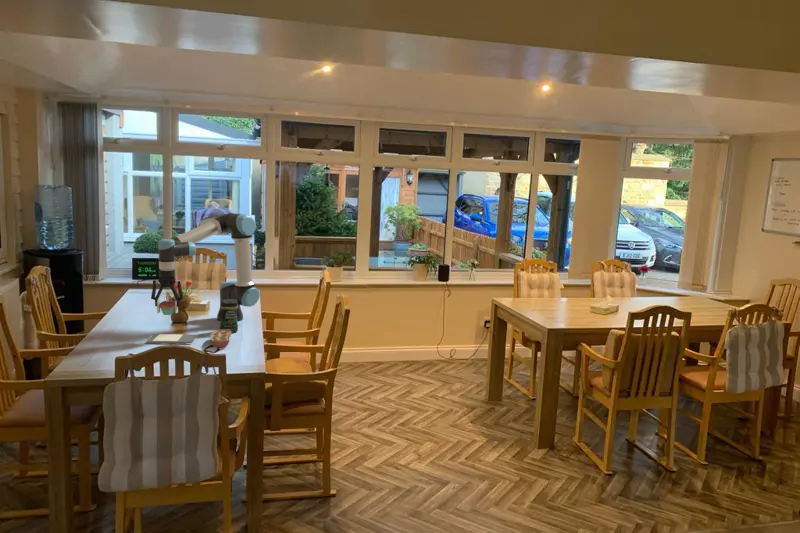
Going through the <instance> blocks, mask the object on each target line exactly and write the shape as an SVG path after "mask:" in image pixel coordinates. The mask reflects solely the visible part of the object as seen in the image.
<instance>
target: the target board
mask: <svg viewBox="0 0 800 533" xmlns="http://www.w3.org/2000/svg"><path fill="white" fill-rule="evenodd" d="M197 337H198V335H197V334H181V333H180V334H179V333H177V334H173V333H172V334H165V333H164V334H163V333H162V334H160V333H159V334H157V333H154V334H153V335H151V336H150V337H149V338H148V339H147V340H146V341H145V344H146V345H162V344H161V343H168V344H167V345H176V344H175V343H184V344H183V345H186V344H185V343H193V342H194V341H195V340H196V339H195V338H197ZM194 339H195V340H194Z"/></svg>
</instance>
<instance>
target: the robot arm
mask: <svg viewBox="0 0 800 533" xmlns="http://www.w3.org/2000/svg"><path fill="white" fill-rule="evenodd" d="M256 226H257V224H256V221H255V219H254V218H253V217H252V216H251V215H248V214H244V213H234V212H227V213H224V214H222V215H220V216H219V215H218V216H216V217H214V218H211V219H210V220H209V222H207V223H204V224H202V225H199V226H198V227H194V228H193V229H190V230H188V231H186V232H185V231H184V232H183V233H181V234H178V235H176V236H174V237H171V238H162V239H160V240H159V241H158V244H157V248H158V269H159V270H158V279H154V280H152V284H153V286H152V290H151V297H150V299H151V300H154V306H155V307H156V309H157V310H156V313H157V314H160V313H161V308H159V304H160V303H161V299H160V296H161V294H162V292H163V291H164V290H163V289H165V288H168V289H170V290H171V291H172V294H173V295H174V297H175V301H174V302H175V309H174V314H178V313H179V307H180V306H181V301H182V300H183V299H184V294H183V288H182V280H181V279H179V280H177V279H176V270H175V269H176V260H175V259H176V258H181V257H190V256H191V257H192V256H194V255H195V254H196V252H197V247H196V243H198V242H201V241H204V240H205V239H208V238H210V237H212V236H215V235H217V236H219V235H222V234H230V235H231V236H230V237H231V239H232V240H233V242H234V253H235V254H234V256H235V270H236V280H230V281H222V282H221V283H220V286H219V305H220V304H221V300H223V299H236V300H237V303H238V309H237V322H239V321H242V320H244V314H243V311H242V308H241V306H243V307H250V308H251V307H253V306H255V305H256V304H257V303H258V302H259V300H260V298H261V297H260V296H261V293H260V290H259V289H258V287H256V282H255V281H254V280H253V276H252V275H253V274H252V258H251V256H252V255H251V240H252V238H253V234H254V233H255V231H256V228H257V227H256ZM158 283H159V284H160V286H159V289H158V292H157V288H158ZM174 284H176V285H177V289H176V288H175V285H174ZM156 292H157V293H156ZM216 320H217V321H219V322H221V308H220V307H219V309H218V312H217V314H216Z"/></svg>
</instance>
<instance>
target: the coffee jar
mask: <svg viewBox="0 0 800 533" xmlns="http://www.w3.org/2000/svg"><path fill="white" fill-rule="evenodd" d="M220 308H221V321H220V324H219V330H220V329H227V330H231V334H235V333H237V332H238V331H239V327H238V321H237V309H238V303H237V300H236V299H223V300H221V304H220V303H219V309H220Z"/></svg>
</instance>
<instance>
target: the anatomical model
mask: <svg viewBox="0 0 800 533" xmlns="http://www.w3.org/2000/svg"><path fill="white" fill-rule="evenodd" d="M231 335H232V333H231V330H227V329H220V328H219V329H216V330H213V331H212V332H211V333H210V336H209V337H210V342H211V345H212V347H214V348H215V349H219V348H221V349H224V348H226V347H227V346H228V345H229V343H230V339H231V338H230V337H231Z"/></svg>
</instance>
